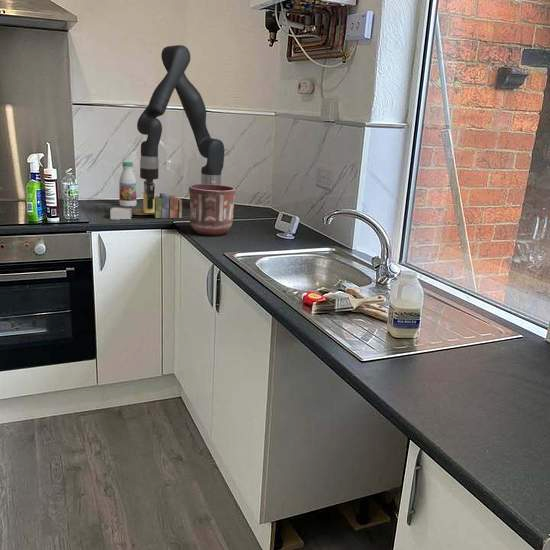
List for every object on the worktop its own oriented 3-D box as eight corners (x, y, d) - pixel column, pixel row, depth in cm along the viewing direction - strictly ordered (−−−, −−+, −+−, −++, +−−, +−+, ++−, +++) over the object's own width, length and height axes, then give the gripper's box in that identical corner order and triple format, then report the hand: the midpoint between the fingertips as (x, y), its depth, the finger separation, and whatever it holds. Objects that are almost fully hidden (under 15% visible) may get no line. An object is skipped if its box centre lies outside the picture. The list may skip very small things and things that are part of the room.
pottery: (196, 238, 213) (198, 190, 208) (182, 228, 228) (183, 183, 223) (240, 237, 221) (242, 190, 216) (223, 227, 236) (225, 183, 231)
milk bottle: (118, 204, 269) (117, 161, 263) (134, 203, 272) (134, 161, 266) (121, 207, 262) (120, 163, 256) (138, 206, 265) (137, 163, 260)
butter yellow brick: (152, 210, 245) (152, 192, 242) (154, 212, 240) (154, 194, 238) (143, 210, 243) (143, 192, 241) (145, 212, 239) (145, 194, 237)
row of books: (180, 215, 253) (180, 192, 250) (184, 218, 246) (184, 195, 243) (110, 215, 243) (110, 192, 240) (112, 219, 236) (111, 195, 233)
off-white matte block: (132, 217, 243) (132, 208, 242) (130, 220, 237) (130, 211, 236) (113, 216, 242) (112, 207, 241) (110, 219, 236) (110, 210, 235)
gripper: (161, 169, 231) (160, 210, 236) (155, 165, 244) (155, 204, 249) (142, 169, 229) (142, 210, 234) (137, 164, 242) (137, 204, 246)
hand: (149, 207), depth 241 cm, fingers closed on butter yellow brick, 5 cm apart
